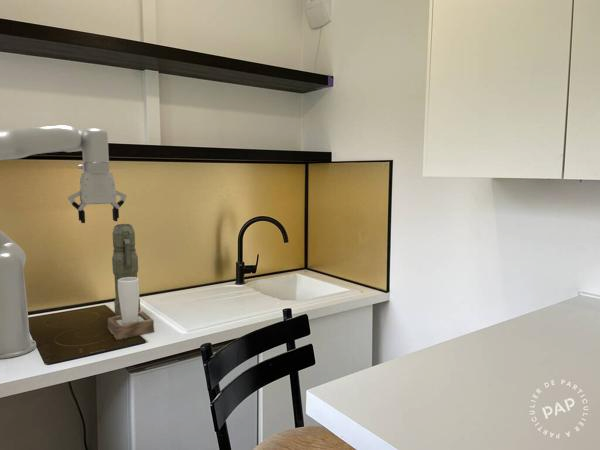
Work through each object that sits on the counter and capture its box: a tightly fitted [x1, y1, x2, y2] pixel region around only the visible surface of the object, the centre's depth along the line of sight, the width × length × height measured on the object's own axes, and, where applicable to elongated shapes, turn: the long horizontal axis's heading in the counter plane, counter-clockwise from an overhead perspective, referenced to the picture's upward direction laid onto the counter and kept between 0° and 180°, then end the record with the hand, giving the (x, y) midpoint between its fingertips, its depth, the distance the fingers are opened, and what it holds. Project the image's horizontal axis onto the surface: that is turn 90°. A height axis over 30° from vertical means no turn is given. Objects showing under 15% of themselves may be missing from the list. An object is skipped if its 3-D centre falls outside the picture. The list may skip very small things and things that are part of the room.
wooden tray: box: [107, 310, 155, 341], centre depth 151 cm, size 12×12×4 cm
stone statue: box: [111, 223, 141, 316], centre depth 163 cm, size 9×12×35 cm
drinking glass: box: [118, 276, 140, 324], centre depth 150 cm, size 7×7×15 cm
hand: (99, 221), depth 142 cm, fingers open, 9 cm apart
